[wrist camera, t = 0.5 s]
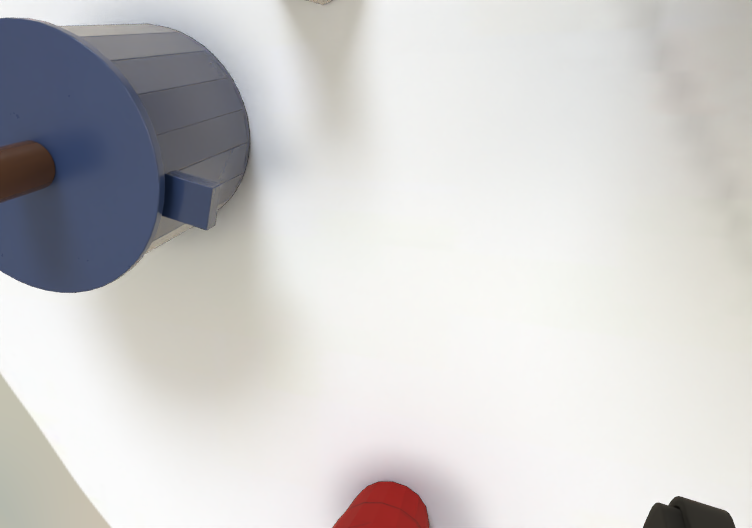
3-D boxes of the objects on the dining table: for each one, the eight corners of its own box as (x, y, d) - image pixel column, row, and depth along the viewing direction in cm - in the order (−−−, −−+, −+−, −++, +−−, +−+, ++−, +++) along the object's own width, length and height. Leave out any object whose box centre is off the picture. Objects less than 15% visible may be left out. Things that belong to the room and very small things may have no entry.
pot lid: (-68, -13, 35) (-176, -18, 30) (186, 58, 33) (116, 66, 28) (-60, 242, 41) (-151, 275, 36) (157, 318, 39) (95, 364, 34)
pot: (41, -8, 46) (-113, -14, 35) (304, 64, 43) (220, 81, 33) (36, 183, 51) (-100, 227, 41) (269, 258, 48) (188, 326, 38)
